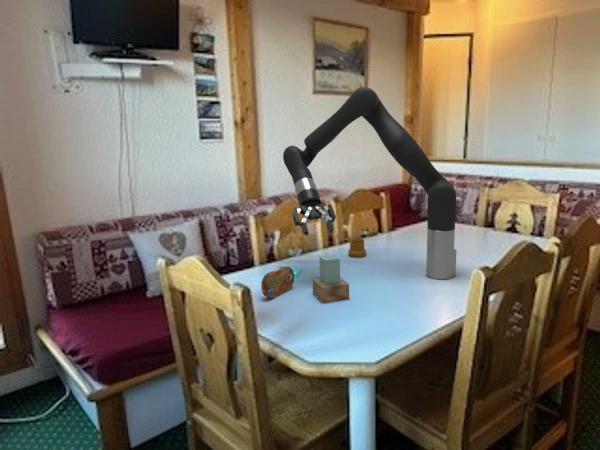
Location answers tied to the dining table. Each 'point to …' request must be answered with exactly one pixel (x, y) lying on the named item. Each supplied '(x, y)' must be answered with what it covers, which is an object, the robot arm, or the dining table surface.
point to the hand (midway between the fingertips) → (319, 233)
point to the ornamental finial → (357, 247)
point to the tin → (277, 282)
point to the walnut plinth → (330, 291)
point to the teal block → (329, 269)
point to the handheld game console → (296, 272)
